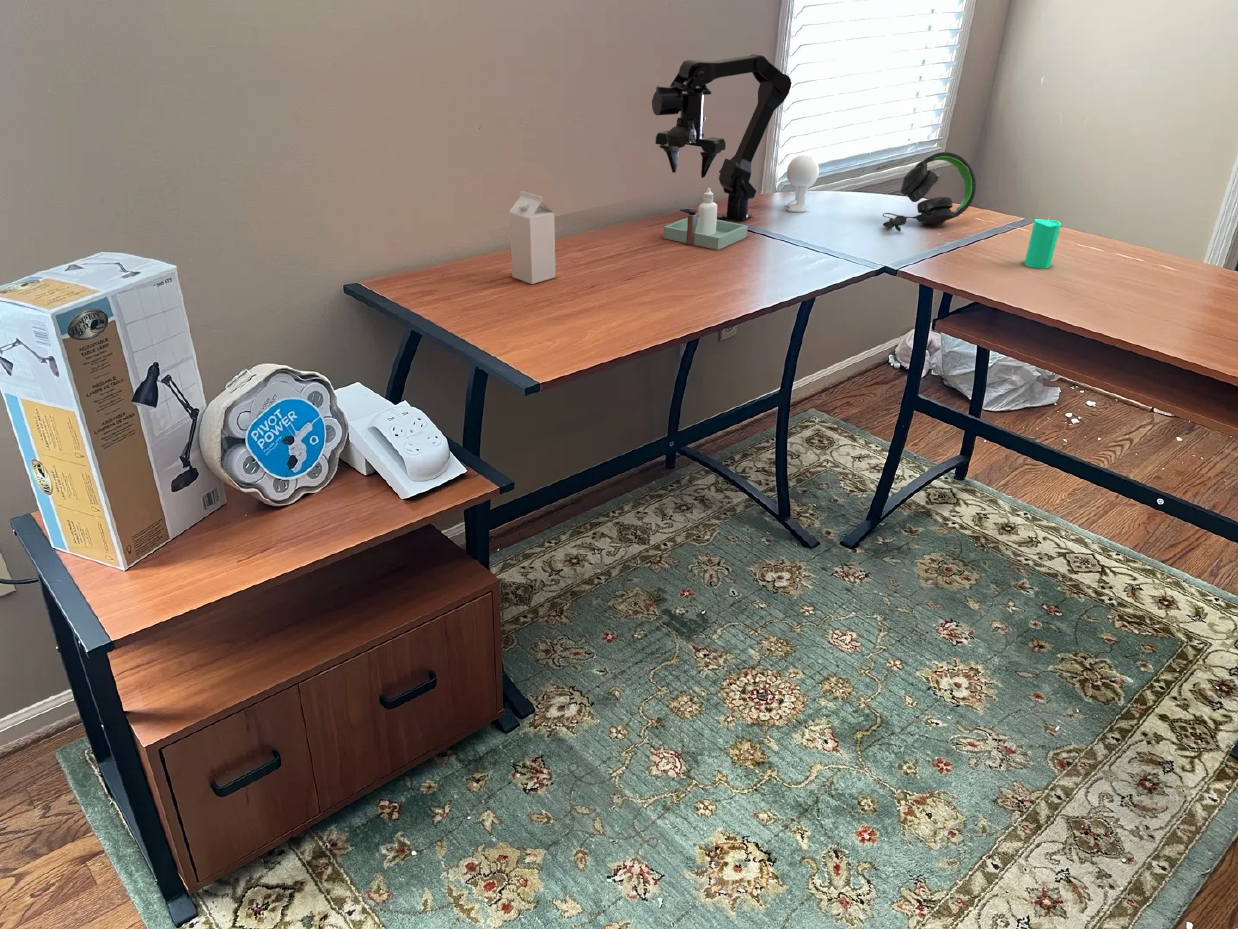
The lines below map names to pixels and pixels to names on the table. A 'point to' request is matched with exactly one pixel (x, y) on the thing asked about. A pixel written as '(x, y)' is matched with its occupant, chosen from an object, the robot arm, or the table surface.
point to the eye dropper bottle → (707, 215)
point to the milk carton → (532, 239)
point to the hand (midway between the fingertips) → (688, 174)
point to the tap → (691, 226)
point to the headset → (921, 183)
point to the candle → (1042, 243)
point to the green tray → (722, 237)
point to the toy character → (801, 180)
